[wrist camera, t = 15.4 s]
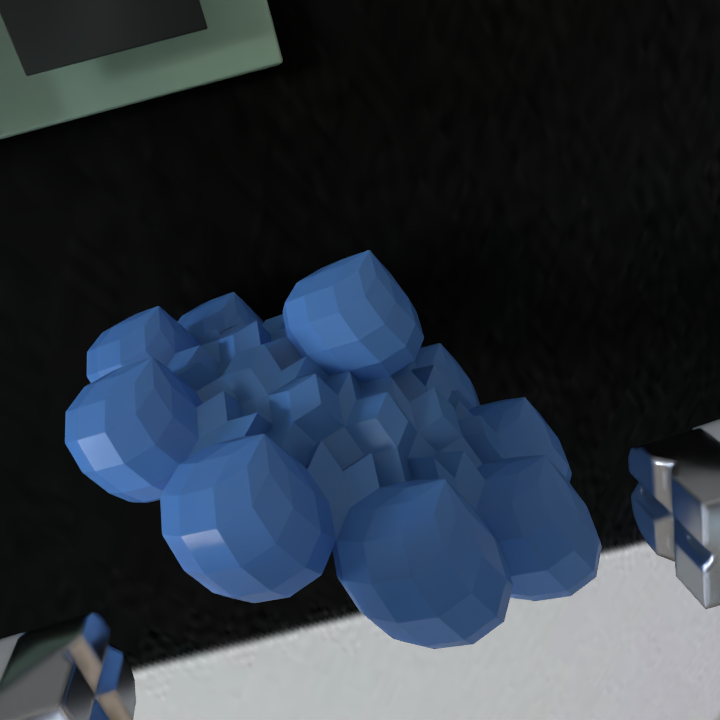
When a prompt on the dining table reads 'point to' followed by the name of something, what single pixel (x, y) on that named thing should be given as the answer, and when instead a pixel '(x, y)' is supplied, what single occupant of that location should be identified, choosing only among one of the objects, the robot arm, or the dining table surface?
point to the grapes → (334, 458)
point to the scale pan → (92, 28)
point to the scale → (138, 69)
